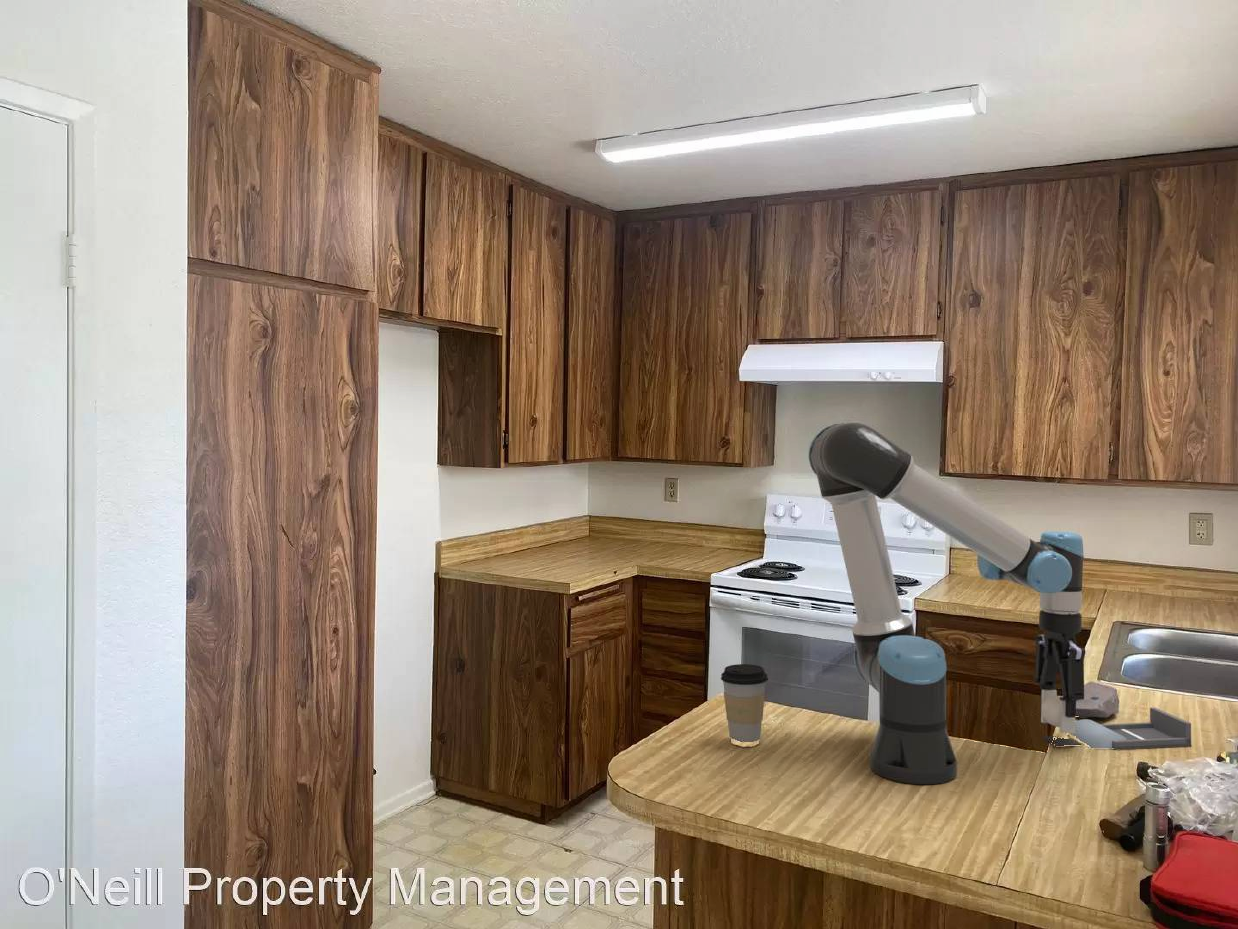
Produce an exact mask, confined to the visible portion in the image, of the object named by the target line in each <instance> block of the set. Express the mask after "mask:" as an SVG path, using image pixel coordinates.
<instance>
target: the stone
mask: <svg viewBox="0 0 1238 929" xmlns="http://www.w3.org/2000/svg"><path fill="white" fill-rule="evenodd" d="M1068 694H1069V693H1068ZM1062 697H1063V695H1062ZM1119 710H1120V699H1119V695H1118V690H1117V688H1115V687H1113V686H1110V685H1106V684H1101V683H1098V682H1095V681H1089V682H1087V683H1084V699H1083V700H1077V701H1076V716H1079V717H1086V718H1085V719H1088V718H1104V719H1105V718H1108V717H1110V716H1111V715H1115V714H1114V713H1116V714H1117V713H1118V712H1119Z"/></svg>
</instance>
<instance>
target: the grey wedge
mask: <svg viewBox="0 0 1238 929" xmlns="http://www.w3.org/2000/svg"><path fill="white" fill-rule="evenodd" d="M1070 734H1071V735H1073V736H1076V738H1078V739H1079V740H1080V741H1082V742H1084V743H1086V744H1087V745H1089V746H1090V747H1091V748H1112V741H1121V740H1127V739H1126V738H1125V737H1123V736H1122V735H1120V734H1118V733H1116V732H1114V731H1112V730H1110V729H1108V728H1106V727H1104V726H1102V724H1100V723H1098V722H1096V721H1094V720H1092V719H1088V718H1082V719H1079V720H1077V721H1075V733H1070ZM1091 748H1090V749H1091Z"/></svg>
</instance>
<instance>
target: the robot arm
mask: <svg viewBox="0 0 1238 929" xmlns="http://www.w3.org/2000/svg"><path fill="white" fill-rule="evenodd" d="M807 454H808V461H809V465H810V468H811V469H812V471H813V473H814V475H816V478H817V482H818V486H819V491H820V496H821V498H822V499H824V500H825V501H827V502H828V503H829V504H830V505H831V508H832V512H833V516H834V517H833V518H834V520H835V521H834V522H835V525H836V530H837V534H838V538H839V543H840V548H841V552H842V557H843V560H844V566H845V570H846V574H847V579H848V584H849V587H850V592H851V596H852V600H853V605H854V610H855V614H856V618H857V621H856V623H855V624H854V626H853V627H852V629H851V631H852V635H853V640H854V644H855V645H854V648H853V660H854V664H855V667H856V669H857V672H858V674H859V676H861V678H862V679H863V680H864V681H865V683H867V684H868V685H870V686H871V687H872V688H873V689H874V690H875V691H876V692H878V695H879V696H878V704H879V705H878V706H879V710H878V713H879V714H878V715H879V726H878V730H877V733H876V736H875V739H874V742H873V744H872V748H871V750H870V751H871V752H870V755H869V760H870V763H869V765H870V769H871V770H872V771H873V772H874V774H876V775H878V776H881V777H882V778H885V779H888V780H891V781H895V782H900V783H905V784H913V785H914V784H915V785H934V784H935V785H936V784H937V785H938V784H942V783H946V782H950V781H952V780H953V779H955V778H956V777H957V776H958V763H957V762H958V760H957V758H956V754H955V752H954V749H953V747H952V742H951V740H950V737H949V734H948V732H947V682H946V681H947V674H946V673H947V669H948V667H947V666H948V665H947V662H946V654H945V651H944V649H943V648H942V646H941V645H940V644H939V643H937V642H935V641H934V640H931V639H928V638H925V639H924V637H922V636H916V633H915V629H914V625H913V621H912V618H910V617H908V616H907V615H905V614H904V613H903V612H902V608H901V604H900V598H899V595H898V590H897V585H896V582H895V578H894V573H893V569H892V568H893V567H892V564H891V559H890V555H889V551H888V546H887V542H886V536H885V534H884V529H883V525H882V520H881V515H880V511H879V506H878V502H877V497H878V498H879V499H880V500H887V499H891V500H892V501H893V502H895V503H897V504H899V505H900V506H902V508H904V509H906V510H908V511H909V512H911V513H912V514H914V515H916V516H917V517H919V518H920V519H922V520H924V521H925V522H927V523H928V524H930V526H933V527H935V528H936V529H938V530H939V531H940V532H942V533H943V534H945V535H946V536H947V535H948V536H949V537H951V538H952V539H954V540H955V541H957V542H958V543H960V544H961V545H963V546H965V547H966V548H968V549H970V550H971V551H972V552H973V553H976V554H977V557H976V558H977V559H976V560H977V561H976V562H977V568H978V572H979V574H980V576H981V577H982V578H983V579H985V580H992V581H996V582H999V581H1008V582H1012V583H1014V584H1018V585H1020V586H1024V587H1027V588H1030V589H1032V590H1035V591H1036V592H1038V593H1039V608H1041V609H1040V611H1039V614H1038V627H1039V629H1040V630H1042V631H1044V634H1036V635H1035V644H1036V645H1035V646H1036V648H1035V649H1036V650H1035V669H1034V670H1035V671H1034V682H1035V684H1039V688H1040V689H1041V698H1040V699H1041V710H1040V714H1041V716H1040V723H1043V724H1049V723H1048V722H1047V721H1046V720H1045V718H1044V716H1043V714H1042V706H1043V703H1044V702H1045V701H1046V700H1047V699H1048V698H1049V697H1052V696H1058V694H1057V693H1058V692H1057V691H1058V690H1056V689H1058V688H1059V687H1058V686H1057V684H1056V680H1057V676H1058V671H1059V678H1060V685H1061V692H1062V696H1063V697H1059V698H1060V727H1059V734H1067V733H1075V722H1076V718H1075V716H1076V701H1077V700H1083V699H1084V685H1085V658H1086V653H1087V651H1086V649H1085V648H1084V647H1081V648H1080V647H1079V646H1077V641H1076V637H1075V636H1076V635H1077V634H1079V633H1081V632H1082V621H1083V620H1082V618H1083V615H1082V614H1081V613H1080V611H1082V610H1083V608H1082V607H1083V606H1082V604H1083V601H1082V598H1083V596H1084V595H1083V594H1082V593H1083V572H1084V558H1085V555H1084V543H1083V541H1084V540H1083V537H1082V536H1081V535H1080V534H1079V533H1076V532H1069V531H1044V532H1042V533H1041V534H1040V535H1041V536H1040V539H1039V541H1035V540H1033V539H1031V538H1029V537H1028V536H1027V535H1025V534H1024V533H1022V532H1020V531H1019V530H1017V529H1016V528H1015V527H1013V526H1012V525H1010V524H1009V523H1007V522H1005V521H1003V520H1002V519H1001V518H999V517H998V516H996V515H994V514H993V513H992V512H989V511H988V510H986V509H985V508H984V507H981V505H978V503H976V502H974V501H972V500H971V499H969V498H967V496H965V495H963V494H961V493H960V492H958V491H957V490H955V489H954V488H952V487H951V486H950V485H947V484H946V483H945V482H943V481H941V480H939V479H938V478H936V476H933V475H932V474H931V473H929V472H927V471H926V470H924V469H923V468H921V467H920V466H918V465H917V464H915V462H914V457H913V455H911V454H910V453H908V452H907V451H905V450H904V449H902V448H901V447H899V446H898V445H897V444H895V443H894V442H893V441H891V440H890V439H888V438H887V437H886V436H884V435H883V434H882V433H881V432H879V431H877V430H876V429H874V428H873V427H871V426H869V425H867V424H865V423H864V424H863V423H860V422H847V423H846V422H845V423H842V422H840V423H833V424H831V425H828V426H826V427H825V428H822V429H821V430H820V431H819V432H817V434H815V436H814V437H813V438H812V440H811V442H810V445H809V447H808V453H807ZM1068 693H1069V694H1068Z"/></svg>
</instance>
